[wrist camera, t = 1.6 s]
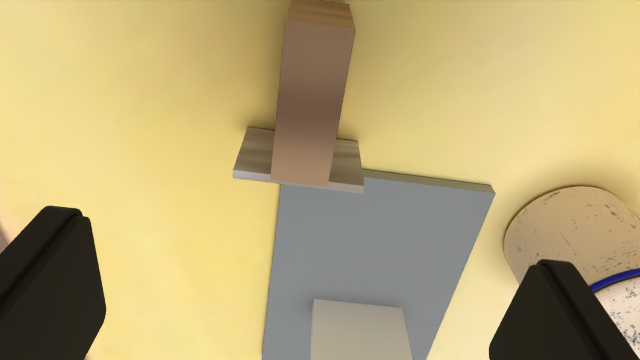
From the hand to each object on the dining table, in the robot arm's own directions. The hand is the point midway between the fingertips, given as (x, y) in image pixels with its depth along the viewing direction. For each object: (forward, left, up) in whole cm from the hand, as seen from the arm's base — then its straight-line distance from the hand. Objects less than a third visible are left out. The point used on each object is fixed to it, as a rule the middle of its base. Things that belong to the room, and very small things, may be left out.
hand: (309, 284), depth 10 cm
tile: (+19, +6, -17) cm, 27 cm away
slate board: (+17, +6, -18) cm, 26 cm away
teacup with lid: (+10, +21, -19) cm, 30 cm away
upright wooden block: (+1, 0, -18) cm, 18 cm away
